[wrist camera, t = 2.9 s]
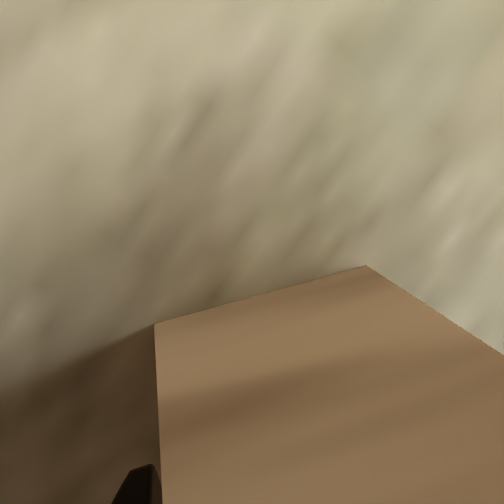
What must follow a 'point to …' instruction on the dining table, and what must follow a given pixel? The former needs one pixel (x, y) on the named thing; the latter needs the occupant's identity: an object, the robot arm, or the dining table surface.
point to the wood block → (328, 400)
